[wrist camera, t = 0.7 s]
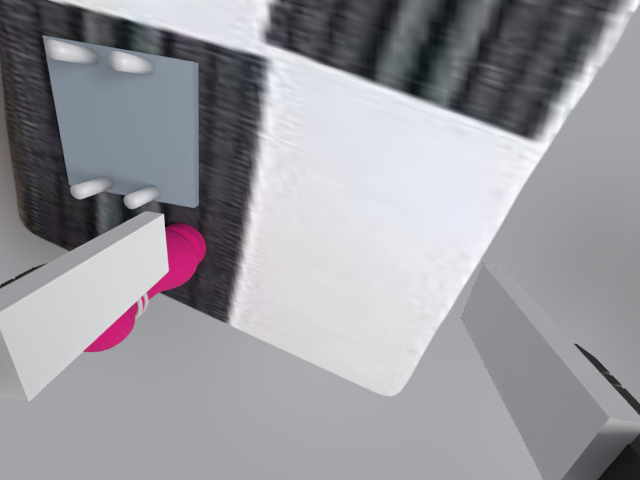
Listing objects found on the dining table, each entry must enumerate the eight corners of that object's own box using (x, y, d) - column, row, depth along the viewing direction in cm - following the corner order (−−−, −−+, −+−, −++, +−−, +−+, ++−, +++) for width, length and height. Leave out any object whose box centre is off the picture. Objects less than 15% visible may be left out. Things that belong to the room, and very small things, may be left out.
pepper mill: (204, 218, 40) (83, 313, 22) (214, 267, 43) (115, 387, 25) (152, 219, 41) (-8, 311, 22) (165, 267, 44) (33, 384, 25)
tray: (52, 37, 33) (-3, 25, 28) (198, 63, 33) (169, 55, 28) (76, 182, 40) (35, 194, 34) (198, 205, 39) (175, 220, 34)
